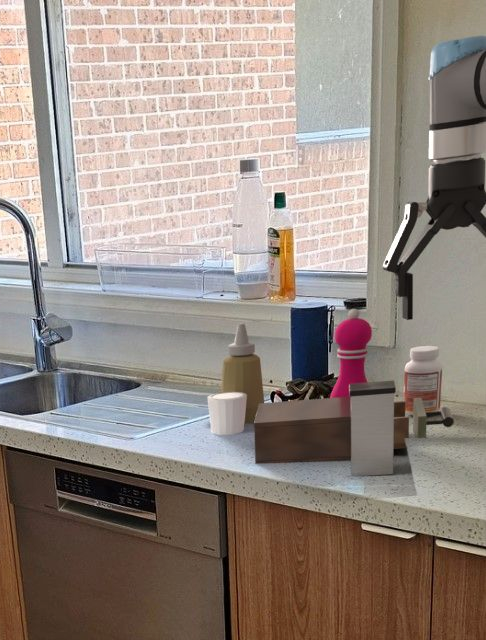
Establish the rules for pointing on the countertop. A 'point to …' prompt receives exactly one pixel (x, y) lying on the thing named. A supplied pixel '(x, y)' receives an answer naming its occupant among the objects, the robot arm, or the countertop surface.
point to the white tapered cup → (227, 412)
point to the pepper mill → (351, 352)
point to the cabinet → (303, 431)
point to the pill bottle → (423, 379)
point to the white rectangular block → (372, 428)
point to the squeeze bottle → (243, 373)
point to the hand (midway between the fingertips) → (454, 312)
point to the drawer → (416, 421)
